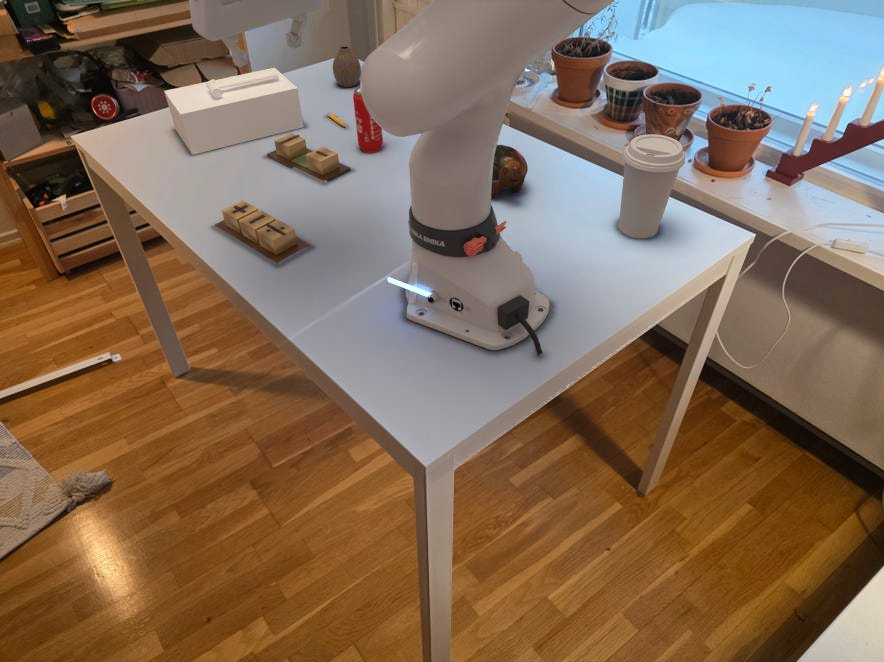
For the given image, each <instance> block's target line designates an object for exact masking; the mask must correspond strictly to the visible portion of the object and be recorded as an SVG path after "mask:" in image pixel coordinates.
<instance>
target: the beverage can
mask: <svg viewBox="0 0 884 662" xmlns="http://www.w3.org/2000/svg"><path fill="white" fill-rule="evenodd" d="M352 99H353V101H352V102H353V108H354V110H353V111H354V117H355V126H356V127H355V129H356V135H357V144H358V146H359V148H360V151H361V152H363V153H366V154H367V153H368V154H372V153H378V152H379V151H381V150H382V146H383V144H384V140H383V139H384V138H383V129H382V128H381V127H380V126H379V125H378V124H377V123H376V122H375V121H374V120H373V119H372V117H371V116H370V114H369V112H368V111H367V109H366V107H365V104H364V101H363V98H362V94H361V87H360V86H358V87H356V88H355V89H354V90H353V94H352Z"/></svg>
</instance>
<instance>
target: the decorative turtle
mask: <svg viewBox="0 0 884 662" xmlns="http://www.w3.org/2000/svg"><path fill="white" fill-rule="evenodd" d="M528 171H529V166H528V163H527V161H526V159H525V157H524V156H523V154H522V153H521V152H520V151H518V150H517V149H516V148H514V147H512V146H508V145H504V144H497V146H496V151H495V156H494V163H493V175H492V191H491V199H494V198H495V197H497V196H498V195H499V194H501V192H502V191H504V190H506V189H508V190H509V191H511V192H512V193H513V194H518V193H520V191H521V190H522V188H523V185H524V183H525V179H526V176H527V173H528Z"/></svg>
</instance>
